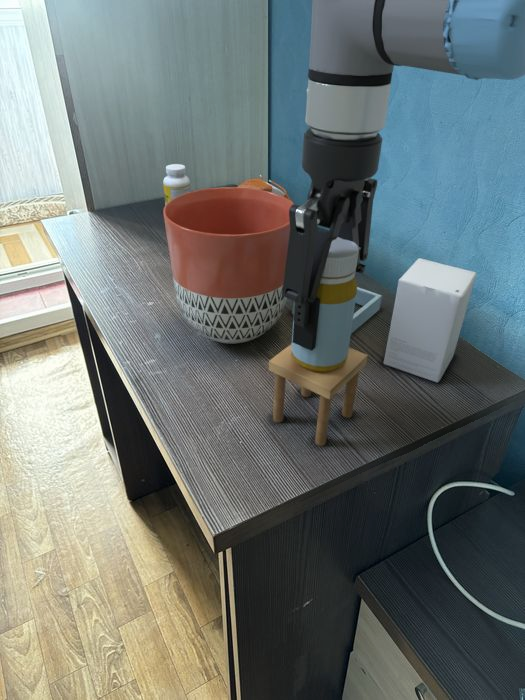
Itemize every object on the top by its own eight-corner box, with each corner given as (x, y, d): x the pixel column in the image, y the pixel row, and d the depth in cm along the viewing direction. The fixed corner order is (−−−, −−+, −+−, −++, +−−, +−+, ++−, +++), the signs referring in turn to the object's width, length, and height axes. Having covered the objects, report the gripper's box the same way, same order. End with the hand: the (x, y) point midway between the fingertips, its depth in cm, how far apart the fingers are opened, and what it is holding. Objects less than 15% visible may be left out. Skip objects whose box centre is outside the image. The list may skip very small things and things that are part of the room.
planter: (313, 330, 88) (324, 207, 76) (236, 383, 76) (235, 248, 64) (230, 292, 99) (228, 179, 86) (150, 334, 86) (134, 209, 74)
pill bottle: (172, 207, 135) (168, 161, 128) (195, 210, 133) (193, 164, 127) (161, 216, 129) (157, 169, 123) (185, 219, 128) (182, 171, 121)
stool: (357, 413, 71) (368, 354, 66) (323, 450, 66) (330, 390, 60) (303, 387, 76) (308, 330, 70) (266, 420, 70) (268, 360, 64)
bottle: (279, 358, 65) (285, 246, 56) (312, 335, 69) (322, 228, 60) (325, 382, 61) (338, 266, 52) (357, 356, 65) (374, 245, 57)
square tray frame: (379, 309, 95) (382, 295, 93) (347, 337, 87) (349, 322, 85) (325, 290, 100) (327, 276, 98) (291, 313, 93) (292, 299, 91)
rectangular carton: (455, 355, 83) (480, 271, 75) (438, 384, 77) (463, 296, 68) (401, 337, 87) (418, 255, 79) (381, 364, 81) (397, 278, 72)
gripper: (359, 109, 58) (337, 290, 71) (247, 142, 45) (245, 356, 58) (423, 119, 54) (387, 308, 67) (320, 159, 41) (300, 383, 54)
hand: (321, 330), depth 63 cm, fingers closed on bottle, 7 cm apart
